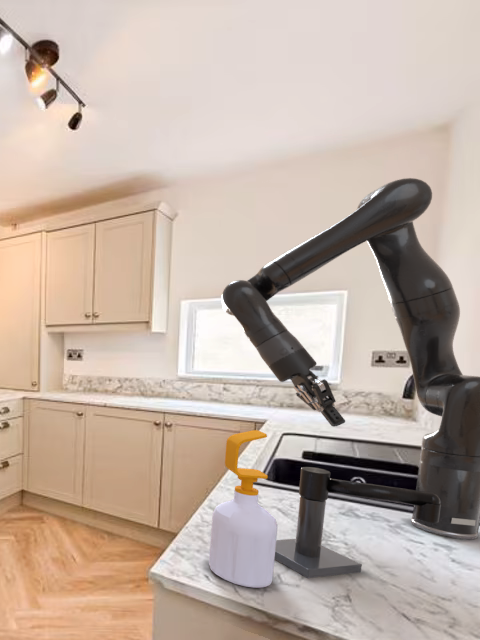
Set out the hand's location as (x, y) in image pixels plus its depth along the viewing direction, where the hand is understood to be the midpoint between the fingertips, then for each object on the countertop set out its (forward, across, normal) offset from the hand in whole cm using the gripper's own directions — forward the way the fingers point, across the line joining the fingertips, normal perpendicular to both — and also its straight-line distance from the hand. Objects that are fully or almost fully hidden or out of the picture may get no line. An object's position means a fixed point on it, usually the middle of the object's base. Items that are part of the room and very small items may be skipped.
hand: (339, 424), depth 88 cm
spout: (+12, -17, +10) cm, 23 cm away
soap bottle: (+13, -24, +33) cm, 43 cm away
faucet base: (+17, -13, +22) cm, 31 cm away
